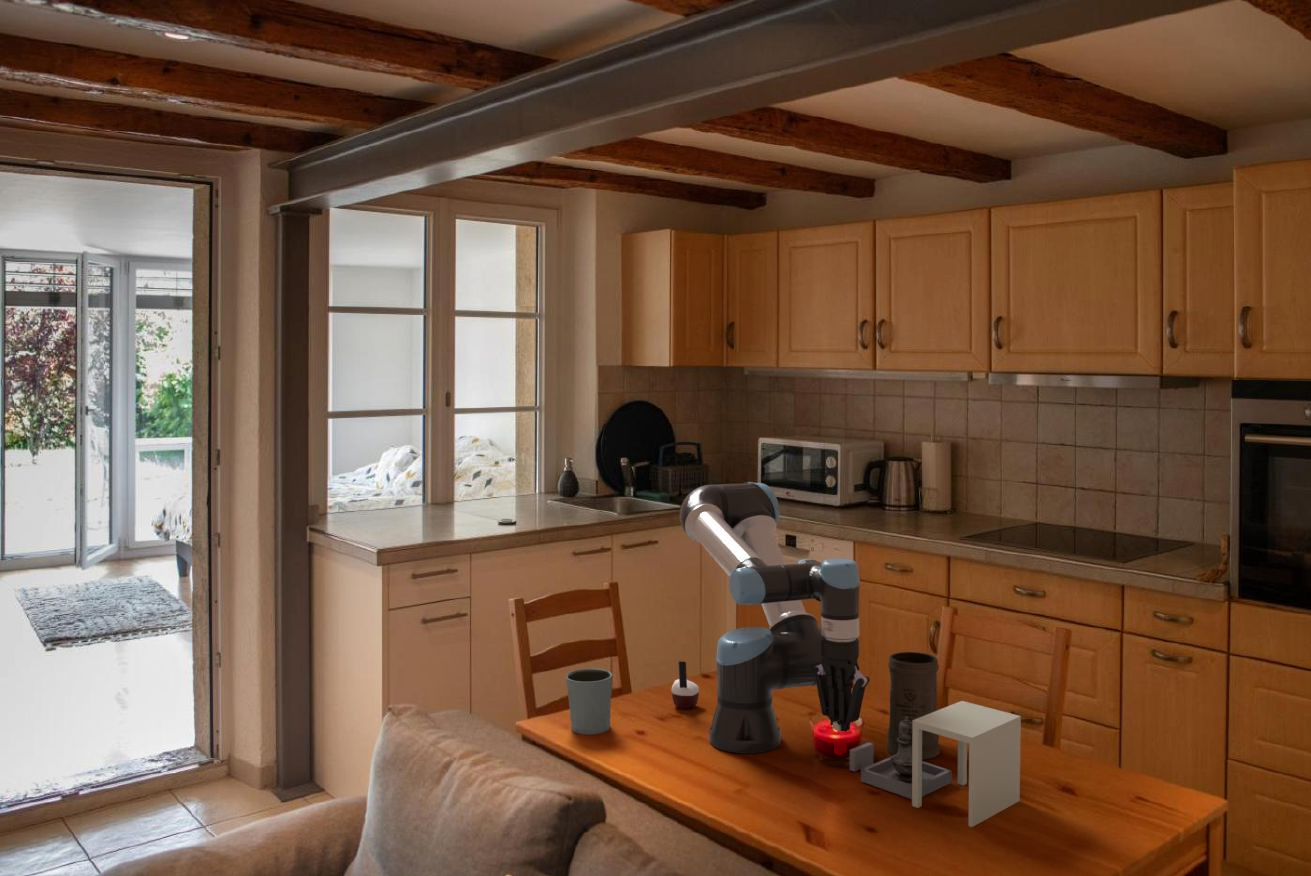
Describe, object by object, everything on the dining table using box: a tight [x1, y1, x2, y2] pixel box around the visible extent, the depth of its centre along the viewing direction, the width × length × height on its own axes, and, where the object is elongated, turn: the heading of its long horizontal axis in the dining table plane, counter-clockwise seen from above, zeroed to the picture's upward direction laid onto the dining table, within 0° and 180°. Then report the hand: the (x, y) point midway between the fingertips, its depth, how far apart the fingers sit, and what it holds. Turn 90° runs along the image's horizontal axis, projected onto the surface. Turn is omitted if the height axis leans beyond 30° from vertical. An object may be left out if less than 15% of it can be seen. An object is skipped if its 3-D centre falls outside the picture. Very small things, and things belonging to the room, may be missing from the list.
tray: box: [849, 742, 953, 800], centre depth 199 cm, size 17×12×4 cm
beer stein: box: [885, 651, 941, 760], centre depth 215 cm, size 15×11×20 cm
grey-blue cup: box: [565, 668, 613, 736], centre depth 229 cm, size 10×10×12 cm
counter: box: [911, 700, 1022, 828], centre depth 187 cm, size 12×16×16 cm
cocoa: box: [671, 660, 700, 710], centre depth 242 cm, size 10×6×12 cm, turn 149°
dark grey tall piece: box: [890, 716, 924, 783], centre depth 197 cm, size 6×6×12 cm
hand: (840, 753), depth 209 cm, fingers closed
